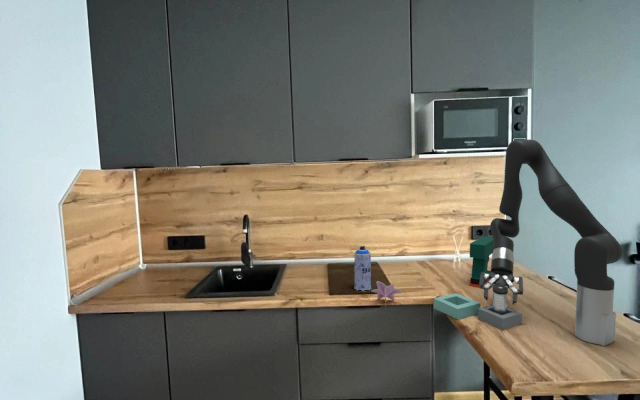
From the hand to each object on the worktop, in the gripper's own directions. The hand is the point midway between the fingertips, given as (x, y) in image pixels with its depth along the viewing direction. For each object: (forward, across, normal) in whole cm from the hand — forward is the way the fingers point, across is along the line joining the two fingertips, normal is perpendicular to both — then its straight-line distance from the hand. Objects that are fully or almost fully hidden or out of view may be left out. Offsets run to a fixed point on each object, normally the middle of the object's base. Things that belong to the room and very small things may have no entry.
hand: (499, 301), depth 124 cm
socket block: (+5, 0, +5) cm, 7 cm away
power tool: (-30, -9, +42) cm, 52 cm away
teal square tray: (+3, -15, +7) cm, 17 cm away
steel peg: (+5, 0, +5) cm, 7 cm away
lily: (+7, -42, +4) cm, 42 cm away
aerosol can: (-1, -57, +12) cm, 59 cm away
